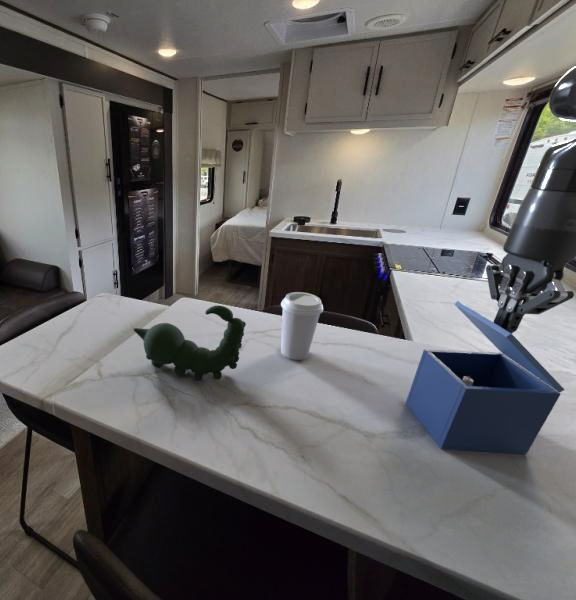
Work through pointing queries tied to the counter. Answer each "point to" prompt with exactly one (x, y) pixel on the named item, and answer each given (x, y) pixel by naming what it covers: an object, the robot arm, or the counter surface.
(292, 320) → the coffee cup
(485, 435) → the case
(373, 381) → the counter surface
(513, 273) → the robot arm
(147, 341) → the toy figurine
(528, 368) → the lid
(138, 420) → the counter surface
